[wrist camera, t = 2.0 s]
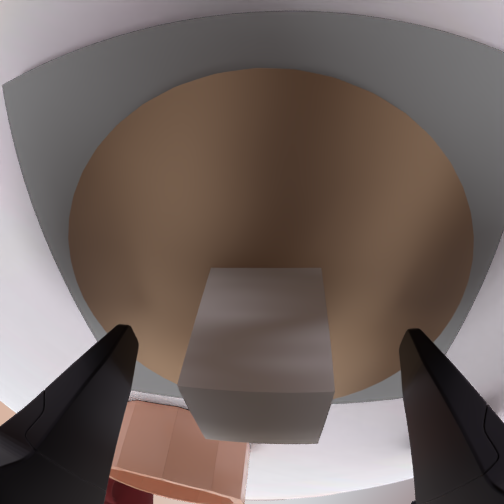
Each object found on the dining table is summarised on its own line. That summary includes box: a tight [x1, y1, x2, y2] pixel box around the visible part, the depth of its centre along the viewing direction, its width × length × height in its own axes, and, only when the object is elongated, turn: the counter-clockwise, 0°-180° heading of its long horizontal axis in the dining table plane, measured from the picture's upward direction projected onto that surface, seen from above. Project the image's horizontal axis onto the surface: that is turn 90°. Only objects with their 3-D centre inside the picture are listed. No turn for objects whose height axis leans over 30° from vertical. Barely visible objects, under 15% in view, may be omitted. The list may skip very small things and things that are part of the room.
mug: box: [104, 478, 153, 504], centre depth 31 cm, size 10×8×10 cm
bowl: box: [109, 400, 250, 504], centre depth 20 cm, size 12×12×6 cm
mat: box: [2, 11, 504, 404], centre depth 11 cm, size 17×17×1 cm
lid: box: [68, 68, 474, 444], centre depth 9 cm, size 14×14×5 cm
